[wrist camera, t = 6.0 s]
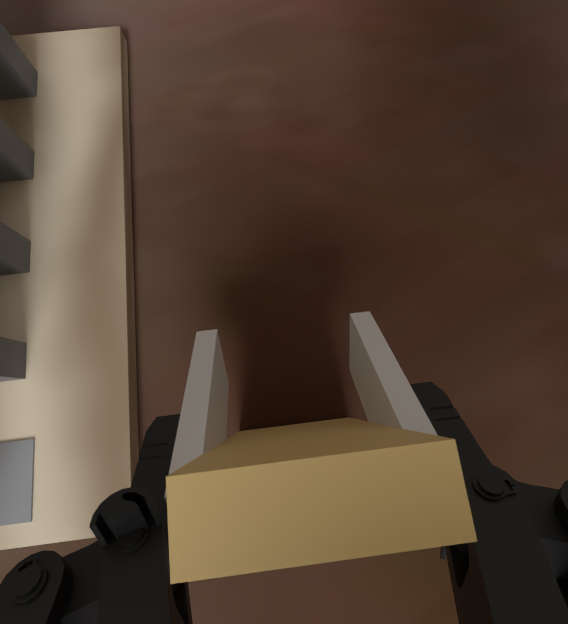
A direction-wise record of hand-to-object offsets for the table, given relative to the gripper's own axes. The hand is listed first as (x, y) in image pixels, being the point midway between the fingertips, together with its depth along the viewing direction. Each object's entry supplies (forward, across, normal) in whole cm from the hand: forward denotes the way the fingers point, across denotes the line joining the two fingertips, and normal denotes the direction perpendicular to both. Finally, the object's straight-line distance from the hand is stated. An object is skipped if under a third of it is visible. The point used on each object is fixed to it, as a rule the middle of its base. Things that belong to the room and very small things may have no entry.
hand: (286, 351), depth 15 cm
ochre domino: (0, 0, -5) cm, 5 cm away
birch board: (+7, -14, +2) cm, 16 cm away
